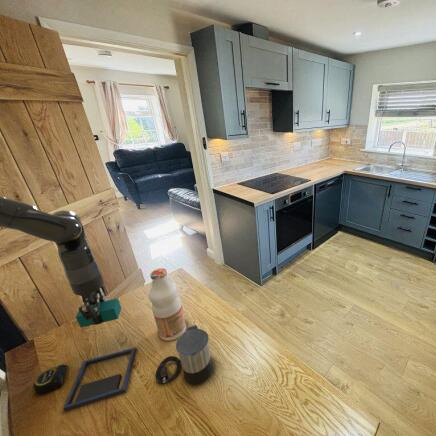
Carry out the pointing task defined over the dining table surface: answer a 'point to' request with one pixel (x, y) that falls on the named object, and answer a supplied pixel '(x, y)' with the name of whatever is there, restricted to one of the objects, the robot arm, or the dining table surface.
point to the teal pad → (102, 312)
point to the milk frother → (190, 358)
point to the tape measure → (50, 379)
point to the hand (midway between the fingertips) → (101, 316)
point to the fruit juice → (166, 306)
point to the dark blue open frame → (70, 405)
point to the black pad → (98, 387)
